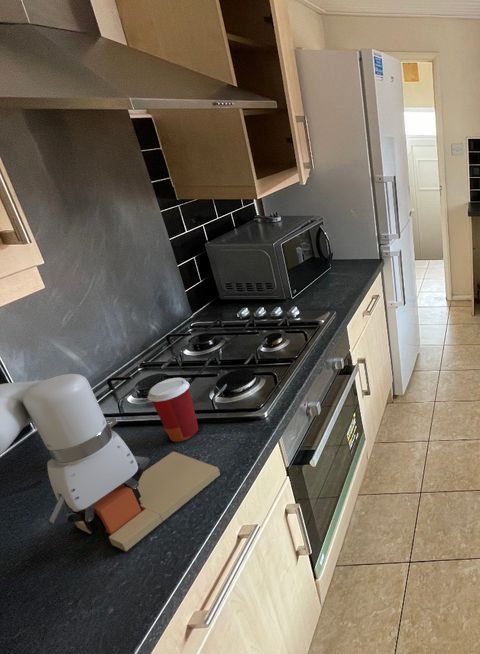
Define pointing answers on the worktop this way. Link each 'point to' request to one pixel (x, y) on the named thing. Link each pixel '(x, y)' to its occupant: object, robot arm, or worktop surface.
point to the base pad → (162, 495)
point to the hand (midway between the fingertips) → (117, 515)
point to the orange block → (117, 508)
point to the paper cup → (175, 408)
